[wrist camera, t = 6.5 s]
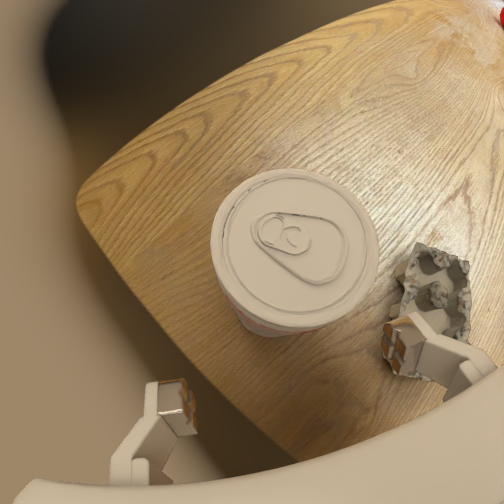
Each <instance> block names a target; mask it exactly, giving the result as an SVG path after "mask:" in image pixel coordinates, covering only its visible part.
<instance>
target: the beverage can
mask: <svg viewBox="0 0 504 504" xmlns="http://www.w3.org/2000/svg"><path fill="white" fill-rule="evenodd" d="M210 246H211V255H212V260H213V265H214V270H215V274H216V277H217V280H218V283H219V285H220V287H221V289H222V291H223V293H224V294H225V296H226V298H227V300H228V301H229V303H230V305H231V307H232V308H233V310H234V312H235V313H236V315H237V317H238V319H239V320H240V322H241V323H242V324H243V325H244V326H245V327H246V328H247V329H248V330H249V331H251V332H252V333H254V334H256V335H259V336H262V337H270V338H272V337H280V336H286V335H293V334H299V333H305V332H310V331H315V330H318V329H321V328H323V327H326V326H328V325H330V324H332V323H334V322H336V321H337V320H338V319H340V318H341V317H343V316H345V315H346V314H348V313H349V312H350V311H351V310H353V309H354V308H355V307H356V306H358V304H359V303H360V302H361V301H362V300H363V299H364V298H365V296H366V295H367V293H368V291H369V290H370V288H371V286H372V284H373V282H374V279H375V276H376V273H377V269H378V263H379V243H378V237H377V234H376V230H375V226H374V224H373V222H372V220H371V217H370V216H369V214H368V213H367V211H366V209H365V208H364V207H363V205H362V204H361V202H360V201H359V200H358V199H357V198H356V197H355V195H354V194H352V193H351V192H350V191H349V190H348V189H346V188H345V187H344V186H342V185H341V184H339V183H338V182H336V181H335V180H333V179H331V178H329V177H327V176H324V175H321V174H319V173H316V172H313V171H308V170H302V169H291V168H286V169H276V170H271V171H266V172H263V173H260V174H258V175H255V176H253V177H251V178H249V179H247V180H245V181H244V182H242V183H241V184H240V185H239V186H237V187H236V188H235V189H234V190H233V191H232V192H230V194H229V195H228V196H227V197H226V198H225V200H224V201H223V202H222V204H221V206H220V208H219V210H218V212H217V214H216V216H215V219H214V222H213V226H212V229H211V242H210Z"/></svg>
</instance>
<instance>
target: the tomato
mask: <svg viewBox="0 0 504 504" xmlns="http://www.w3.org/2000/svg"><path fill="white" fill-rule="evenodd" d="M500 21H501V23H502V25H503V27H504V8H503V9H502V10H501V13H500Z"/></svg>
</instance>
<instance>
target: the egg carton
mask: <svg viewBox="0 0 504 504" xmlns="http://www.w3.org/2000/svg"><path fill="white" fill-rule="evenodd" d="M469 271H470V265H469V261H466V260H465V261H463V260H460V259H458V257H457V256H455V255H450V254H447V253H446V252H444V251H440V250H439V249H437V248H432V247H427V246H426V245H424V244H422V243H418V242H417V243H416V244H415V246H414V249H413V251H412V253H411V256H410V257H409V260H408V261H406V262H404V263H402V264H401V265H399V266H397V267H396V269H395V278H396V279H397V280H399V281H400V282H401V284H402V285H403V286H404V289H405V292H404V295H403V297H402V301H401V302H400V303H398V304H394V305H391V308H390V314H389V316H390V318H392V319H393V320H395V319H397V318H400V317H402V316H405V315H408V314H410V313H413V312H417V313H418V314H419V315H420V316H421V317H422V318H423V319H424V320H425V321H426V323H427V324H428V325H429V326H430V327H431V328H432V329H433V331H434V332H435V333H436V334H437V335H438V334H442V335H444V336H447V337H450V338H453V339H455V340H458V341H461V342H463V343H466V344H469V345H471V344H470V343H469V342H468V338H469V333H470V330H471V324H470V311H471V306H472V299H471V290H470V286H469V285H470V281H469V278H468V276H467V274H468V273H469ZM383 358H385V359H387V360H388V361H389V362H390V365H391V368H392V371H393V374H395V375H398V374H397V373H396V371H395V370H394V368H393V367H392V360H390V359H388V358H386V356H385V354H384V353H383ZM405 375H406V376H407V377H412V378H420V380H423V381H429V382H432V381H433V380H432V379H430V378H428V377H426V376H424V375H423V374H421V373H419V372H417V371H416V369H415V370H413V371H411V372H408V373H406V374H403V376H405Z"/></svg>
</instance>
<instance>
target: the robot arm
mask: <svg viewBox="0 0 504 504" xmlns="http://www.w3.org/2000/svg"><path fill="white" fill-rule="evenodd" d="M383 331H384V332H385V334H384V335H383V337H382V340H381V346H382V350H383V353H384V354H385V356H386V358H388V359H390V360H392V367H393V368H394V370H395V371H396V373H397V374H398V376H401V375H403V374H406V373H408V372H411V371H413V370H415V369H416V371H417V372H419V373H421V374H423V375H424V376H426V377H428V378H430V379H432V380H433V381H435V382H437V383H439V384H440V385H442V386H444V387H446V388H448V389H447V391H446V393H445V395H444V397H443V401H444V403H442V404H441V405H439V406H437V407H435V408H433V409H432V410H430V411H428V412H426V413H424V414H422V415H420V416H418V417H416V418H414V419H412V420H410V421H408V422H406V423H404V424H402V425H400V426H397V427H395V428H393V429H391V430H389V431H386V432H384V433H382V434H379V435H377V436H375V437H372V438H370V439H367V440H365V441H362V442H360V443H357V444H354V445H352V446H349V447H346V448H343V449H341V450H338V451H335V452H332V453H329V454H326V455H323V456H320V457H316V458H313V459H310V460H306V461H303V462H299V463H296V464H292V465H288V466H285V467H280V468H276V469H272V470H267V471H263V472H258V473H253V474H248V475H243V476H237V477H232V478H225V479H219V480H211V481H203V482H195V483H184V484H173V481H172V480H171V479H170V478H169V477H167V476H166V475H165V474H164V473H163V472H162V469H163V467H164V466H165V464H166V462H167V460H168V458H169V456H170V454H171V452H172V450H173V448H174V446H175V444H176V442H177V440H178V437H183V436H189V435H195V434H198V423H197V419H196V417H195V416H194V414H195V413H196V403H195V399H194V396H193V393H192V391H191V389H188V388H187V382H186V380H185V378H180V379H172V380H166V381H159V382H151V383H147V385H146V387H145V401H144V417H141V418H140V419H139V420H138V421H137V423H136V424H135V425H134V427H133V428H132V429H131V431H130V432H129V434H128V435H127V436H126V437H125V439H124V440H123V442H122V443H121V445H120V446H119V447H118V448H117V450H116V451H115V452H114V454H113V455H112V456H111V458H110V472H109V485H92V484H80V483H71V482H62V481H55V480H48V479H41V478H37V479H34V480H33V481H31V482H30V483H29V484H28V485H27V486H26V487H25V488H24V489H23V490H22V491H21V493H19V495H18V496H17V497H16V498H15V500H14V502H13V504H504V364H503V365H501V366H500V367H499V368H498V367H497V366H496V365H495V363H494V362H493V361H492V360H491V359H490V358H489V356H488V355H487V354H486V353H485V352H484V351H483V350H482V349H480V348H477V347H474V346H471V345H469V344H466V343H463V342H461V341H458V340H455V339H453V338H450V337H447V336H444V335H442V334H438V335H437V334H436V333H435V332H434V331H433V329H432V328H431V327H430V326H429V325H428V324H427V323H426V321H425V320H424V319H423V318H422V317H421V316H420V315H419V314H418V313H417V312H413V313H410V314H408V315H405V316H402V317H400V318H397V319H395V320H392V321H389V322H387V323H385V325H384V327H383Z"/></svg>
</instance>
